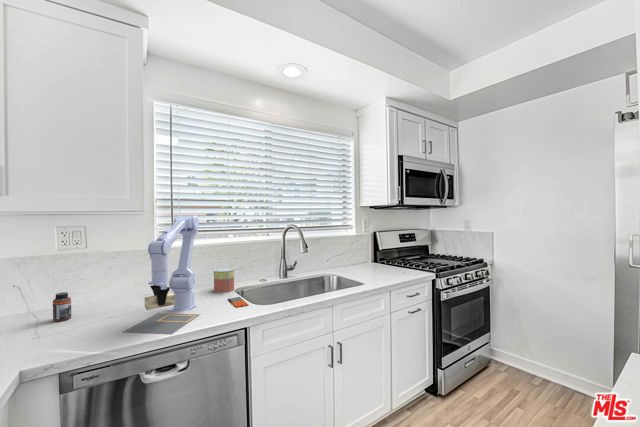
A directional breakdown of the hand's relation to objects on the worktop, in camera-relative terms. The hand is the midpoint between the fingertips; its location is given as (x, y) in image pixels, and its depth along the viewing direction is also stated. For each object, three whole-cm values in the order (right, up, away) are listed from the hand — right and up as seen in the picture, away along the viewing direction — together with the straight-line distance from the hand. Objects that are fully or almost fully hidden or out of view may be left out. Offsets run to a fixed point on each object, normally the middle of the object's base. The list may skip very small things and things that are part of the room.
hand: (160, 303), depth 120 cm
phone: (+24, -9, +28) cm, 38 cm away
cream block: (0, -1, 0) cm, 1 cm away
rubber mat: (+2, -8, 0) cm, 8 cm away
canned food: (+9, -8, +51) cm, 53 cm away
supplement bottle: (-45, -9, +6) cm, 46 cm away
